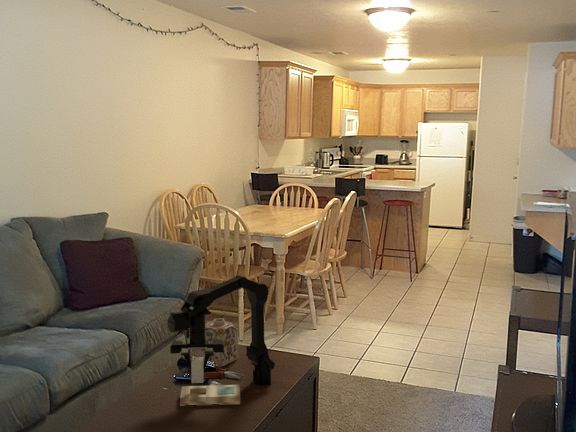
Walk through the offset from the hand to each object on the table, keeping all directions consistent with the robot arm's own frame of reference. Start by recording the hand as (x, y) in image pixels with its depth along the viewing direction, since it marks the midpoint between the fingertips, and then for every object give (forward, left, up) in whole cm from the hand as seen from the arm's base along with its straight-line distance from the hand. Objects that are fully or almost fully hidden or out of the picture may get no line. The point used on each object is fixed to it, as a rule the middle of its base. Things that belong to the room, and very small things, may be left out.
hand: (197, 369), depth 219 cm
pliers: (-6, -22, -12) cm, 25 cm away
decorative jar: (-7, -38, -11) cm, 40 cm away
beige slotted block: (-5, 0, -11) cm, 12 cm away
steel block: (0, 0, -4) cm, 4 cm away
